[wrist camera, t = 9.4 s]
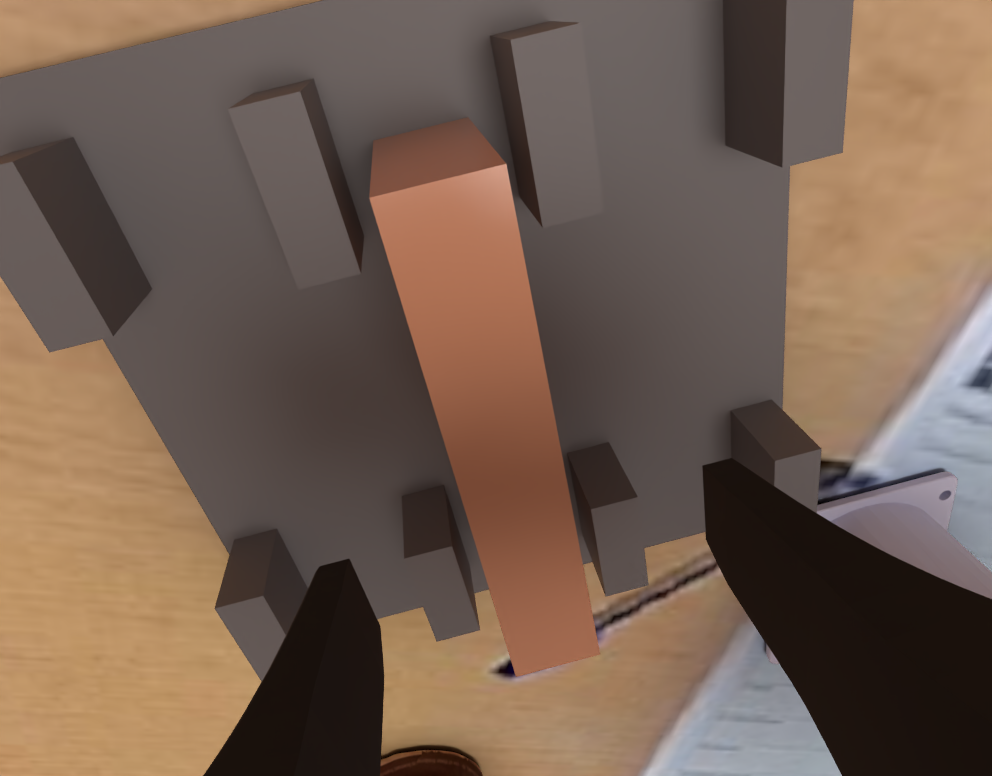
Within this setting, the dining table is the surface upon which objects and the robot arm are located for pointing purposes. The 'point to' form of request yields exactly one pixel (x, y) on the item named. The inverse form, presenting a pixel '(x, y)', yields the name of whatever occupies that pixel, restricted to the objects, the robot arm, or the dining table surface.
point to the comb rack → (370, 283)
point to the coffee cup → (429, 764)
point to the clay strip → (486, 378)
